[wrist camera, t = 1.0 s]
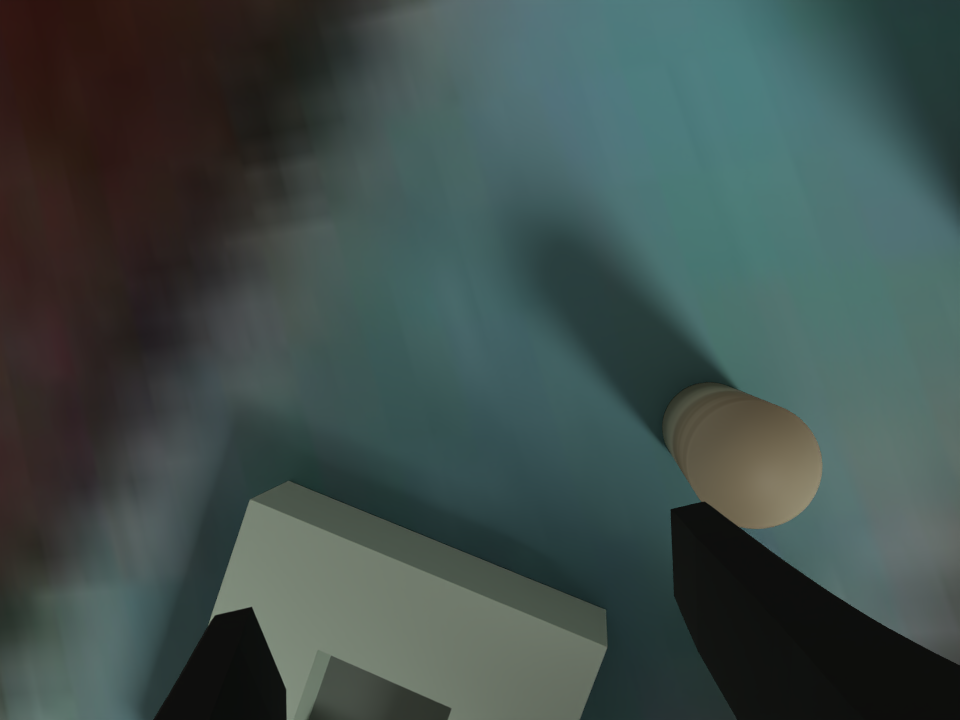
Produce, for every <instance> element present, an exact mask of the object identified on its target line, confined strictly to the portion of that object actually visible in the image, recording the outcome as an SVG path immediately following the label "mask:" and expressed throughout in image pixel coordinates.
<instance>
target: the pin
mask: <svg viewBox="0 0 960 720" xmlns="http://www.w3.org/2000/svg"><path fill="white" fill-rule="evenodd" d="M662 432H663V437H664V441H665V444H666V446H667V448H668V450H669V452H670V453H671V455H672V456H673V458H674V460H675V461H676V463H677V464H678V466H679V467H680V469H681V471H682V472H683V474H684V475H685V477H686V479H687V480H688V482H689V483H690V485H691V487H692V488H693V490H694V491H695V493H696V494H697V496H698V498H699V499H700V500H701V502H704V501H705V502H706V503H708V504H709V505H711V506H712V507H713V508H715V509H716V510H717V511H719V512H720V513H721V514H722V515H724V516H725V517H726V518H728V519H729V520H730V521H732V522H733V523H734V524H735V525H737V526H739V527H744V528H751V529H762V528H769V527H774V526H777V525H780V524H783V523H785V522H787V521H789V520H791V519H793V518H794V517H796V516H797V515H798V514H800V513H801V512H802V511H803V510H804V509H805V508H806V507H807V506H808V505H809V503H810V502H811V500H812V499H813V497H814V496H815V494H816V492H817V490H818V487H819V484H820V481H821V475H822V457H821V452H820V448H819V446H818V443H817V441H816V438H815V437H814V435H813V433H812V432H811V430H810V429H809V428H808V426H807V425H806V424H805V423H804V422H803V421H802V420H801V419H800V418H798V417H797V416H796V415H795V414H793V413H792V412H790V411H788V410H786V409H784V408H782V407H780V406H777V405H775V404H772V403H770V402H767V401H764V400H762V399H759V398H757V397H754V396H752V395H749V394H747V393H744V392H742V391H739V390H737V389H734V388H732V387H729V386H727V385H723V384H720V383H714V382H705V383H698V384H694V385H692V386H689V387H687V388H685V389H684V390H682V391H681V392H679V393H678V394H677V395H676V396H675V397H674V398H673V399H672V400H671V402H670V403H669V405H668V406H667V409H666V411H665V414H664V417H663V422H662Z"/></svg>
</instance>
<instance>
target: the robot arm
mask: <svg viewBox="0 0 960 720" xmlns="http://www.w3.org/2000/svg"><path fill="white" fill-rule="evenodd" d="M671 532H672V556H673V580H674V597H675V599H676V602H677V604H678V606H679V609H680V611H681V613H682V616H683V618H684V620H685V623H686V625H687V627H688V630H689V632H690V634H691V636H692V639H693V641H694V643H695V645H696V648H697V650H698V652H699V654H700V655H701V657H702V659H703V661H704V663H705V664H706V666H707V668H708V670H709V671H710V673H711V675H712V676H713V678H714V680H715V682H716V683H717V685H718V687H719V689H720V690H721V692H722V694H723V696H724V697H725V699H726V701H727V702H728V704H729V706H730V708H731V709H732V711H733V713H734V714H735V716H736V718H737V720H960V665H958V664H956V663H954V662H952V661H950V660H948V659H946V658H944V657H942V656H940V655H938V654H936V653H934V652H932V651H930V650H928V649H926V648H924V647H922V646H921V645H919V644H917V643H915V642H913V641H911V640H909V639H908V638H906V637H904V636H902V635H900V634H898V633H896V632H895V631H893V630H891V629H889V628H887V627H886V626H884V625H882V624H880V623H879V622H877V621H875V620H874V619H872V618H870V617H869V616H867V615H865V614H864V613H862V612H860V611H859V610H857V609H856V608H854V607H852V606H851V605H849V604H848V603H846V602H845V601H843V600H841V599H840V598H838V597H837V596H835V595H834V594H832V593H830V592H829V591H827V590H826V589H824V588H823V587H821V586H820V585H818V584H817V583H815V582H814V581H813V580H811V579H810V578H808V577H807V576H805V575H804V574H803V573H801V572H800V571H798V570H797V569H795V568H794V567H792V566H791V565H790V564H788V563H787V562H785V561H784V560H782V559H781V558H780V557H778V556H777V555H776V554H774V553H773V552H771V551H770V550H769V549H767V548H766V547H765V546H763V545H762V544H761V543H759V542H758V541H757V540H755V539H754V538H753V537H751V536H750V535H749V534H747V533H746V532H745V531H743V530H742V529H741V528H739V527H738V526H737V525H735V524H734V523H733V522H732V521H730V520H729V519H728V518H726V517H725V516H724V515H722V514H721V513H720V512H719V511H717V510H716V509H715V508H713V507H712V506H711V505H709V504H708V503H706V502H705V501H704V502H700V503H696V504H691V505H687V506H683V507H678V508H674V509H671ZM153 720H287V706H286V687H285V685H284V683H283V680H282V678H281V675H280V673H279V671H278V668H277V666H276V663H275V661H274V659H273V656H272V654H271V651H270V649H269V647H268V644H267V642H266V639H265V637H264V635H263V632H262V630H261V627H260V625H259V622H258V620H257V618H256V615H255V613H254V610H253V608H252V607H248V608H244V609H240V610H235V611H231V612H227V613H223V614H218V615H215V616H214V618H213V619H212V620H211V622H210V623H209V625H208V627H207V629H206V630H205V632H204V634H203V636H202V637H201V639H200V641H199V643H198V644H197V646H196V648H195V650H194V652H193V653H192V655H191V657H190V659H189V660H188V662H187V664H186V666H185V667H184V669H183V671H182V673H181V674H180V676H179V678H178V679H177V681H176V683H175V685H174V686H173V688H172V690H171V691H170V693H169V695H168V697H167V698H166V700H165V701H164V703H163V705H162V706H161V708H160V710H159V711H158V713H157V715H156V716H155V718H154V719H153Z"/></svg>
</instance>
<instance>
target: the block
mask: <svg viewBox="0 0 960 720" xmlns="http://www.w3.org/2000/svg"><path fill="white" fill-rule="evenodd" d="M248 607H252V608H253V610H254V613H255V615H256V618H257V620H258V622H259V625H260V627H261V630H262V632H263V635H264V637H265V639H266V642H267V644H268V647H269V649H270V651H271V654H272V656H273V659H274V661H275V663H276V666H277V668H278V671H279V673H280V675H281V678H282V680H283V683H284V685H285V687H286V706H287V720H580V717H581V715H582V712H583V710H584V707H585V704H586V702H587V699H588V697H589V694H590V691H591V689H592V686H593V684H594V681H595V678H596V676H597V673H598V671H599V668H600V665H601V663H602V660H603V658H604V655H605V652H606V650H607V623H606V610H605V609H603V608H600V607H598V606H595V605H593V604H590V603H588V602H585V601H583V600H580V599H578V598H575V597H573V596H571V595H568V594H566V593H563V592H561V591H558V590H556V589H553V588H551V587H548V586H546V585H544V584H541V583H539V582H536V581H534V580H531V579H529V578H526V577H524V576H521V575H519V574H516V573H514V572H512V571H509V570H507V569H504V568H502V567H499V566H497V565H494V564H492V563H489V562H487V561H485V560H482V559H480V558H477V557H475V556H472V555H470V554H467V553H465V552H462V551H460V550H457V549H455V548H453V547H450V546H448V545H445V544H443V543H440V542H438V541H435V540H433V539H430V538H428V537H426V536H423V535H421V534H418V533H416V532H413V531H411V530H408V529H406V528H403V527H401V526H398V525H396V524H394V523H391V522H389V521H386V520H384V519H381V518H379V517H376V516H374V515H371V514H369V513H366V512H364V511H362V510H359V509H357V508H354V507H352V506H349V505H347V504H344V503H342V502H339V501H337V500H335V499H332V498H330V497H327V496H325V495H322V494H320V493H317V492H315V491H312V490H310V489H307V488H305V487H303V486H300V485H298V484H295V483H293V482H290V481H287V482H285V483H283V484H281V485H279V486H277V487H275V488H273V489H270V490H268V491H266V492H264V493H262V494H260V495H258V496H256V497H254V498H252V499H250V501H249V504H248V507H247V510H246V513H245V516H244V519H243V522H242V525H241V528H240V531H239V534H238V537H237V540H236V543H235V546H234V549H233V552H232V555H231V558H230V561H229V564H228V567H227V570H226V573H225V576H224V579H223V582H222V585H221V588H220V591H219V594H218V597H217V600H216V603H215V606H214V609H213V612H212V615H211V618H210V621H209V623H210V622H211V620H212V619H213V618H214V616H215V615H218V614H223V613H227V612H231V611H235V610H240V609H244V608H248ZM208 625H209V624H208Z"/></svg>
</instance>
